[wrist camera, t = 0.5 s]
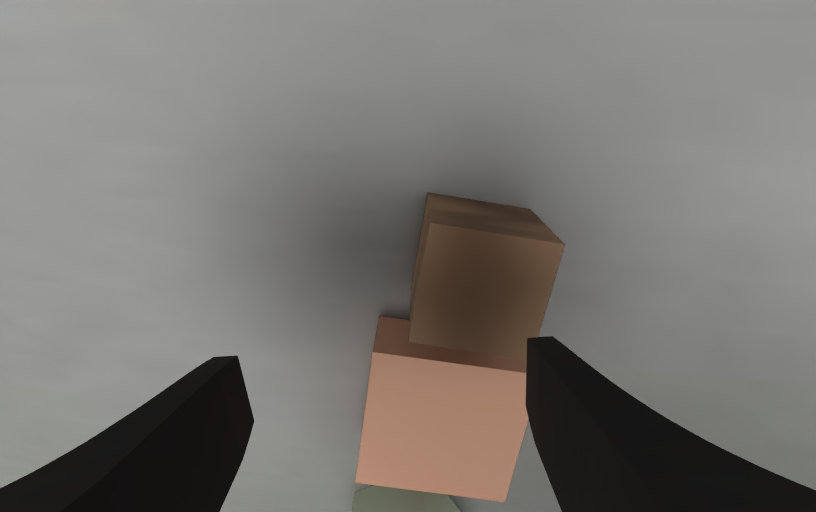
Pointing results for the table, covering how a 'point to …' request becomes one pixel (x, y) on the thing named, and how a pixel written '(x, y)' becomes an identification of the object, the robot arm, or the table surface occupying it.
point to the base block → (441, 417)
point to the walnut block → (481, 276)
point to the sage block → (401, 501)
